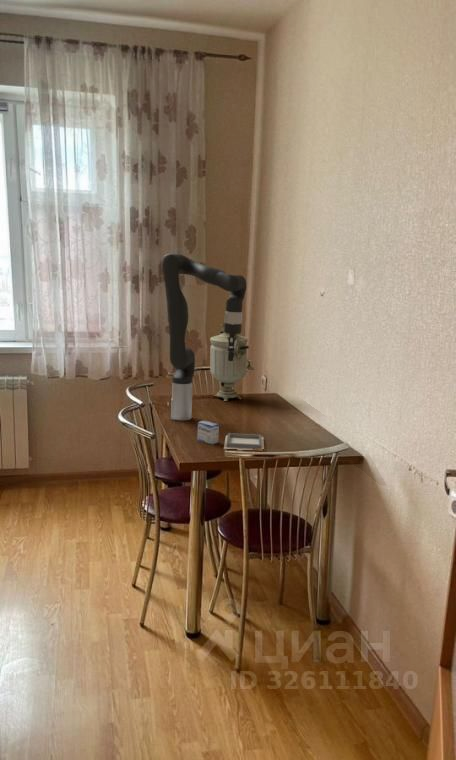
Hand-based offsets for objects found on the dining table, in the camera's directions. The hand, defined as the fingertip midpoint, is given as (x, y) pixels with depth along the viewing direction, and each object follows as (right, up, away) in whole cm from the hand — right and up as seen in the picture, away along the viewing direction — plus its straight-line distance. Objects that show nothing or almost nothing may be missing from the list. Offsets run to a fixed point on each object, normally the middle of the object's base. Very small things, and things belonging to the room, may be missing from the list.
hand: (231, 359), depth 265 cm
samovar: (+1, -19, +62) cm, 65 cm away
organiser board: (+5, -36, -15) cm, 39 cm away
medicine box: (-10, -35, -13) cm, 39 cm away
